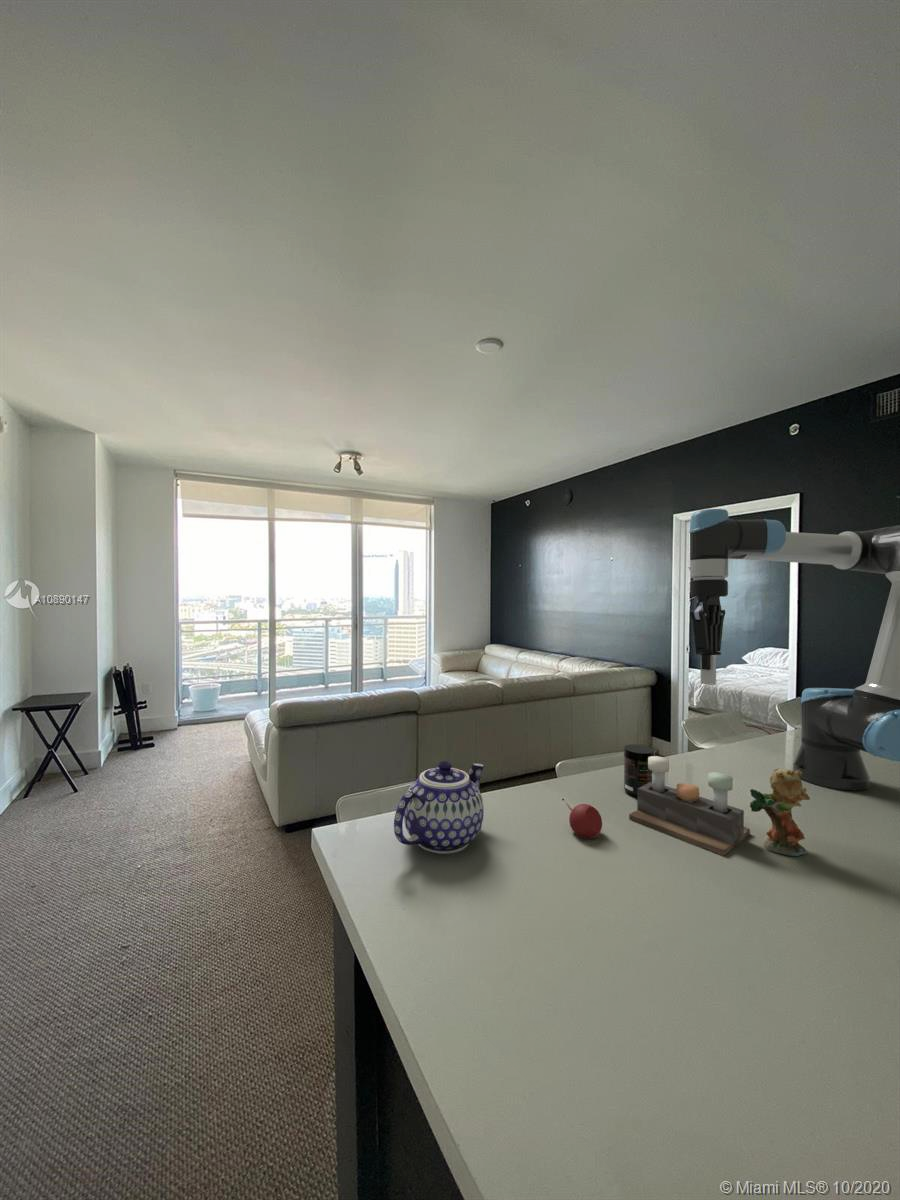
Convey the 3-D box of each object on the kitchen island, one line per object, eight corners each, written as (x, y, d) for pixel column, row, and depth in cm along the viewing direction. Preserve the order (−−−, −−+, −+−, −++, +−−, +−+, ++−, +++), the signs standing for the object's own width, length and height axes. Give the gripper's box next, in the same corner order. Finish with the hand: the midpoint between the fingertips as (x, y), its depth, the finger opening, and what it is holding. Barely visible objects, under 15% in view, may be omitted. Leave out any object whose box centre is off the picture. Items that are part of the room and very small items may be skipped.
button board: (658, 802, 105) (659, 778, 105) (749, 833, 91) (750, 805, 91) (629, 819, 97) (629, 792, 97) (723, 856, 83) (724, 824, 83)
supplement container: (661, 795, 109) (661, 750, 109) (641, 801, 105) (642, 755, 105) (636, 785, 115) (636, 742, 115) (617, 791, 111) (617, 747, 111)
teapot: (425, 887, 74) (425, 793, 74) (365, 852, 84) (365, 770, 84) (514, 828, 93) (514, 753, 93) (457, 806, 103) (457, 738, 102)
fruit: (587, 835, 94) (571, 794, 97) (610, 830, 90) (592, 788, 93) (569, 845, 90) (552, 802, 93) (591, 841, 86) (573, 796, 90)
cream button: (653, 785, 101) (654, 754, 101) (672, 790, 98) (672, 759, 98) (644, 789, 99) (644, 758, 99) (663, 795, 96) (663, 764, 96)
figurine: (803, 844, 87) (803, 763, 87) (814, 864, 80) (814, 777, 80) (745, 833, 91) (745, 756, 91) (751, 852, 84) (752, 769, 84)
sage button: (713, 803, 92) (713, 770, 92) (735, 810, 89) (735, 776, 89) (704, 809, 90) (704, 775, 90) (727, 817, 86) (727, 781, 86)
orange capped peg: (682, 813, 97) (682, 781, 97) (702, 820, 94) (702, 787, 94) (672, 818, 94) (673, 786, 94) (693, 826, 91) (693, 792, 91)
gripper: (703, 580, 113) (703, 678, 113) (678, 578, 105) (678, 684, 105) (738, 579, 107) (737, 683, 107) (714, 577, 99) (714, 689, 99)
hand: (708, 683), depth 106 cm, fingers closed
